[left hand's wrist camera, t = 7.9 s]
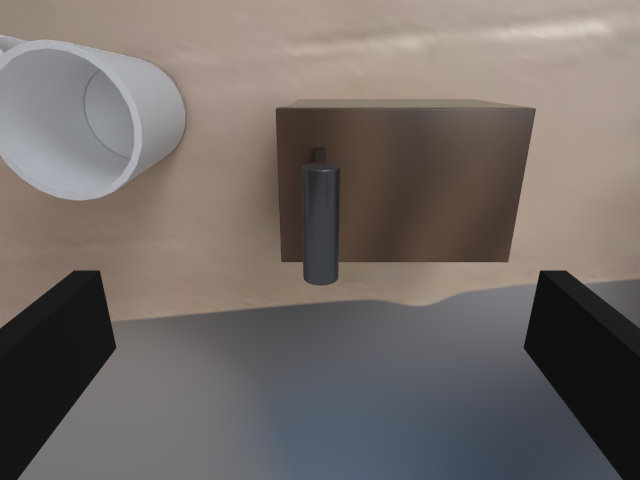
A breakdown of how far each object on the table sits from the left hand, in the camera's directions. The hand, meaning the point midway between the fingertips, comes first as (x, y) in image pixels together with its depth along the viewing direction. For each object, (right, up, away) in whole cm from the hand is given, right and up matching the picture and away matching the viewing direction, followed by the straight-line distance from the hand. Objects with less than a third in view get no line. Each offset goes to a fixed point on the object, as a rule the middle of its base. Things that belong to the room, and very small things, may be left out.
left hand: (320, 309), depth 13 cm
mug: (-15, +13, +21) cm, 29 cm away
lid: (+5, +5, +14) cm, 16 cm away
